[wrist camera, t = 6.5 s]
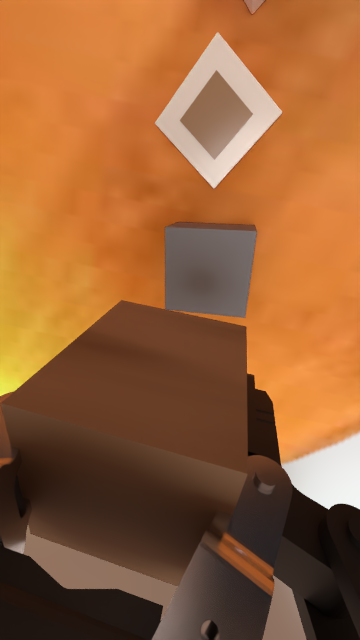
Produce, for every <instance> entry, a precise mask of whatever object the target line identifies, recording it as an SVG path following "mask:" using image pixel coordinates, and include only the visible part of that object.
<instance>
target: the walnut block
mask: <svg viewBox="0 0 360 640" xmlns="http://www.w3.org/2000/svg"><path fill="white" fill-rule="evenodd" d="M1 406H2V410H3V415H4V419H5V424H6V428H7V432H8V437H9V441H10V446H13V447H16V448H19V449H20V454H21V459H22V463H21V466H20V468H19V470H18V473H17V476H18V481H19V485H20V489H21V494H22V497H23V498H26V499H29V500H30V502H31V507H32V512H31V515H30V518H29V521H28V525H29V528H30V533H31V534H33V535H36V536H38V537H41V538H44V539H47V540H49V541H52V542H55V543H58V544H61V545H63V546H66V547H69V548H72V549H75V550H77V551H80V552H83V553H86V554H89V555H92V556H94V557H97V558H100V559H103V560H106V561H108V562H111V563H114V564H116V565H119V566H122V567H125V568H128V569H130V570H133V571H136V572H139V573H142V574H145V575H147V576H150V577H153V578H156V579H158V580H161V581H164V582H167V583H170V584H172V585H176V586H179V583H180V581H181V579H182V577H183V575H184V573H185V571H186V569H187V567H188V565H189V563H190V561H191V559H192V557H193V555H194V553H195V551H196V549H197V547H198V545H199V543H200V541H201V539H202V537H203V535H204V533H205V532H206V530H207V529H209V527H210V525H211V524H212V522H213V520H214V517H215V515H216V513H217V511H218V510H219V511H222V512H226V513H229V514H233V512H234V509H235V507H236V504H237V501H238V499H239V496H240V494H241V491H242V488H243V486H244V483H245V480H246V478H247V475H248V433H247V340H246V327H245V326H241V325H236V324H231V323H227V322H222V321H217V320H212V319H208V318H203V317H198V316H194V315H189V314H184V313H179V312H175V311H170V310H165V309H160V308H156V307H151V306H146V305H142V304H137V303H132V302H127V301H123V300H121V301H120V302H119V303H118V304H117V305H115V306H114V307H113V308H112V309H111V310H110V311H108V312H107V313H106V314H105V315H104V316H102V317H101V318H100V319H99V320H98V321H97V322H95V323H94V324H93V325H92V326H91V327H90V328H88V329H87V330H86V331H85V332H84V333H83V334H81V335H80V336H79V337H78V338H77V339H75V340H74V341H73V342H72V343H71V344H70V345H68V346H67V347H66V348H65V349H64V350H63V351H61V352H60V353H59V354H58V355H57V356H56V357H54V358H53V359H52V360H51V361H50V362H48V363H47V364H46V365H45V366H44V367H43V368H41V369H40V370H39V371H38V372H37V373H36V374H34V375H33V376H32V377H31V378H30V379H29V380H27V381H26V382H25V383H24V384H23V385H21V386H20V387H19V388H18V389H17V390H16V391H14V392H13V393H12V394H11V395H10V396H9V397H7V398H6V399H5V400H4V401H3V402H2V403H1Z"/></svg>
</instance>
